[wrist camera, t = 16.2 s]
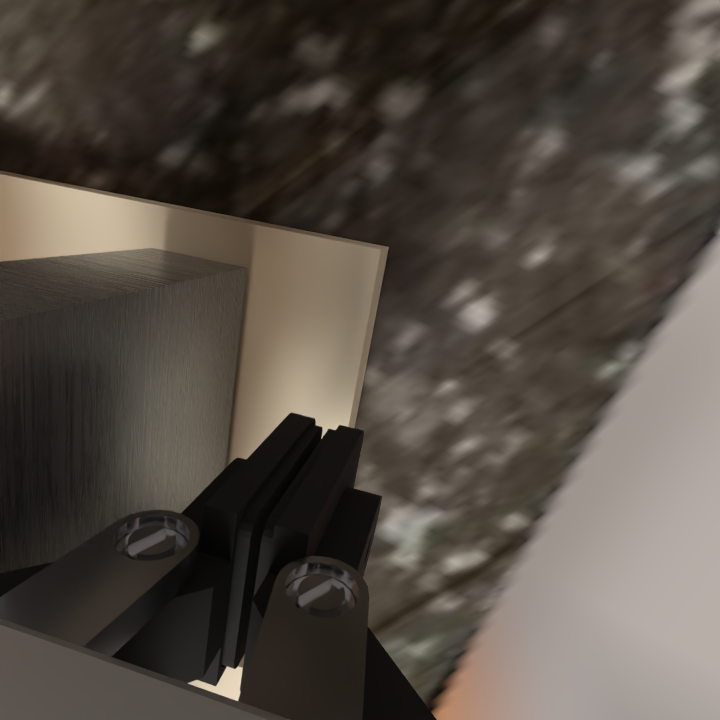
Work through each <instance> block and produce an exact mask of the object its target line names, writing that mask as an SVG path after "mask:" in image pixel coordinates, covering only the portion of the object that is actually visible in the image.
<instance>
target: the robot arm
mask: <svg viewBox="0 0 720 720" xmlns="http://www.w3.org/2000/svg"><path fill="white" fill-rule="evenodd" d="M322 430H323V429H322V427H321V426H317V425H316V421H315V418H311V417H307V416H304V415H300V414H296V413H292V412H291V413H290V414H289V415H288V416H287V417H286V418H285V419H284V420H283V421H282V422H281V423H280V424H279V425H278V426H277V427H276V428H275V429H274V431H273V432H272V433H271V434H270V435H269V436H268V437H267V438H266V439H265V440H264V441H263V442H262V443H261V444H260V446H259V447H258V448H257V449H256V450H255V451H254V452H253V453H252V454H251V455H250V456H249V457H248V458H247V459H243V458H236V459H234V460H233V461H232V462H231V463H230V464H229V465H228V466H227V467H226V468H225V469H224V470H223V471H222V472H221V473H220V474H219V475H218V476H217V477H216V478H215V479H214V480H213V481H212V482H211V483H210V484H209V485H208V486H207V487H206V488H205V489H204V490H203V491H202V492H201V493H200V494H199V495H198V496H197V497H196V498H195V500H194V501H193V502H192V503H191V504H190V505H189V506H188V507H187V508H186V509H185V510H184V511H183V512H182V513H181V514H180V513H177V512H173V511H168V510H147V511H141V512H137V513H133V514H130V515H127V516H125V517H124V518H122V519H120V520H118V521H116V522H114V523H113V524H111V525H110V526H108V527H107V528H105V529H104V530H102V531H101V532H99V533H98V534H96V535H94V536H93V537H91V538H90V539H88V540H87V541H85V542H84V543H82V544H81V545H79V546H78V547H76V548H75V549H73V550H72V551H70V552H68V553H67V554H65V555H64V556H62V557H61V558H59V559H58V560H56V561H55V562H50V563H45V564H41V565H36V566H31V567H26V568H22V569H17V570H12V571H8V572H3V573H0V720H436V718H435V717H434V716H433V714H432V713H431V712H430V710H429V709H428V708H427V706H426V705H425V703H424V702H423V701H422V699H421V698H420V697H419V695H418V694H417V693H416V691H415V690H414V689H413V687H412V686H411V685H410V683H409V682H408V680H407V679H406V678H405V676H404V675H403V674H402V672H401V671H400V670H399V668H398V667H397V666H396V664H395V663H394V662H393V660H392V659H391V657H390V656H389V655H388V653H387V652H386V651H385V649H384V648H383V647H382V645H381V644H380V643H379V641H378V640H377V639H376V637H375V636H374V634H373V633H372V632H371V630H370V629H369V628H368V610H369V592H368V586H367V584H366V582H365V581H364V579H363V575H364V571H365V568H366V564H367V561H368V557H369V553H370V549H371V545H372V541H373V537H374V533H375V528H376V524H377V519H378V515H379V510H380V505H381V500H382V496H379V495H375V494H372V493H368V492H364V491H361V490H357V489H353V487H354V482H355V477H356V472H357V467H358V462H359V457H360V452H361V447H362V441H363V435H364V431H363V430H359V429H355V428H351V427H347V426H343V425H339V426H338V428H337V429H336V430H332V429H328V430H327V432H326V433H325V435H324V436H323V437H322ZM321 438H322V439H321ZM244 654H245V656H244ZM243 656H244V663H243V670H242V677H241V685H240V692H241V693H240V696H239V699H238V701H236V700H233V699H230V698H227V697H225V696H222V695H219V694H216V693H213V692H211V691H208V690H205V689H202V688H199V687H196V686H193V685H191V684H188V683H190V682H192V681H195V680H199V681H202V682H205V683H207V684H210V685H213V686H217V684H218V682H219V680H220V678H221V677H222V675H223V673H224V671H225V669H226V667H230V668H233V669H236V668H237V667H238V665H239V663H240V662H241V660H242V658H243Z"/></svg>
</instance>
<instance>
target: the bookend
mask: <svg viewBox="0 0 720 720" xmlns="http://www.w3.org/2000/svg"><path fill="white" fill-rule="evenodd" d="M246 273H247V268H246V267H241V266H236V265H232V264H227V263H222V262H217V261H213V260H208V259H203V258H199V257H194V256H189V255H184V254H180V253H175V252H170V251H166V250H161V249H156V248H146V249H135V250H124V251H112V252H101V253H90V254H79V255H68V256H57V257H46V258H34V259H23V260H12V261H1V262H0V573H3V572H8V571H12V570H17V569H22V568H26V567H31V566H36V565H41V564H45V563H50V562H55V561H56V560H58V559H59V558H61V557H62V556H64V555H65V554H67V553H68V552H70V551H72V550H73V549H75V548H76V547H78V546H79V545H81V544H82V543H84V542H85V541H87V540H88V539H90V538H91V537H93V536H94V535H96V534H98V533H99V532H101V531H102V530H104V529H105V528H107V527H108V526H110V525H111V524H113V523H114V522H116V521H118V520H120V519H122V518H124V517H125V516H127V515H130V514H133V513H137V512H141V511H147V510H168V511H173V512H177V513H180V514H181V513H182V512H183V511H184V510H185V509H186V508H187V507H188V506H189V505H190V504H191V503H192V502H193V501H194V500H195V498H196V497H197V496H198V495H199V494H200V493H201V492H202V491H203V490H204V489H205V488H206V487H207V486H208V485H209V484H210V483H211V482H212V481H213V480H214V479H215V478H216V477H217V476H218V475H219V474H220V473H221V472H222V471H223V470H224V469H225V465H226V456H227V447H228V438H229V428H230V419H231V410H232V401H233V392H234V383H235V373H236V364H237V355H238V346H239V337H240V328H241V318H242V309H243V300H244V291H245V282H246Z"/></svg>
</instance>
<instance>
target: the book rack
mask: <svg viewBox="0 0 720 720" xmlns="http://www.w3.org/2000/svg"><path fill="white" fill-rule="evenodd" d="M146 248H156V249H161V250H166V251H170V252H175V253H180V254H184V255H189V256H194V257H199V258H203V259H208V260H213V261H217V262H222V263H227V264H232V265H236V266H241V267H246V268H247V273H246V282H245V291H244V300H243V309H242V318H241V328H240V337H239V346H238V355H237V364H236V373H235V383H234V392H233V401H232V410H231V419H230V428H229V438H228V447H227V456H226V465H225V468H226V467H227V466H228V465H229V464H230V463H231V462H232V461H233V460H234V459H236V458H243V459H247V458H248V457H249V456H250V455H251V454H252V453H253V452H254V451H255V450H256V449H257V448H258V447H259V446H260V444H261V443H262V442H263V441H264V440H265V439H266V438H267V437H268V436H269V435H270V434H271V433H272V432H273V431H274V429H275V428H276V427H277V426H278V425H279V424H280V423H281V422H282V421H283V420H284V419H285V418H286V417H287V416H288V415H289V414H290V413H291V412H292V413H296V414H300V415H304V416H307V417H311V418H315V421H316V425H317V426H321V427H322V429H323V430H322V437H323V436H324V435H325V433H326V432H327V430H328V429H332V430H336V429H337V428H338V426H339V425H343V426H347V427H351V428H355V424H356V418H357V413H358V408H359V402H360V397H361V392H362V387H363V381H364V376H365V371H366V365H367V360H368V355H369V350H370V344H371V339H372V334H373V328H374V323H375V318H376V312H377V307H378V302H379V297H380V291H381V286H382V281H383V275H384V270H385V265H386V259H387V254H388V249H389V247H386V246H381V245H376V244H371V243H366V242H361V241H356V240H351V239H346V238H341V237H335V236H330V235H325V234H320V233H315V232H310V231H305V230H300V229H295V228H290V227H285V226H280V225H275V224H269V223H264V222H259V221H254V220H249V219H244V218H239V217H234V216H229V215H224V214H219V213H214V212H208V211H203V210H198V209H193V208H188V207H183V206H178V205H173V204H168V203H163V202H158V201H153V200H147V199H142V198H137V197H132V196H127V195H122V194H117V193H112V192H107V191H102V190H97V189H92V188H87V187H81V186H76V185H71V184H66V183H61V182H56V181H51V180H46V179H41V178H36V177H31V176H26V175H20V174H15V173H10V172H5V171H0V262H1V261H12V260H23V259H34V258H46V257H57V256H68V255H79V254H90V253H101V252H112V251H124V250H135V249H146ZM321 439H322V438H321ZM244 656H245V654H244ZM244 656H243V658H242V660H241V662H240V663H239V665H238V667H237V668H236V669H233V668H230V667H226V669H225V671H224V673H223V675H222V677H221V678H220V680H219V682H218V684H217V686H213V685H210V684H207V683H205V682H202V681H199V680H195V681H192V682H190V683H188V684H191V685H193V686H196V687H199V688H202V689H205V690H208V691H211V692H213V693H216V694H219V695H222V696H225V697H227V698H230V699H233V700H236V701H238V699H239V696H240V693H241V692H240V685H241V677H242V670H243V663H244Z"/></svg>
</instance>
